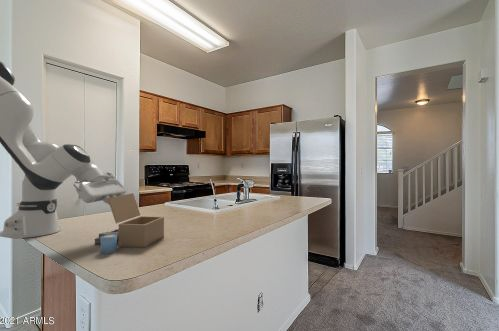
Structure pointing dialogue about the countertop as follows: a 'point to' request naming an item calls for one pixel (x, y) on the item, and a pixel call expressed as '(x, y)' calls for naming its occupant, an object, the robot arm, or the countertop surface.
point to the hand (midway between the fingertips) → (116, 205)
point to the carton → (141, 231)
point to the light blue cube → (108, 244)
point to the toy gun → (116, 232)
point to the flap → (124, 207)
